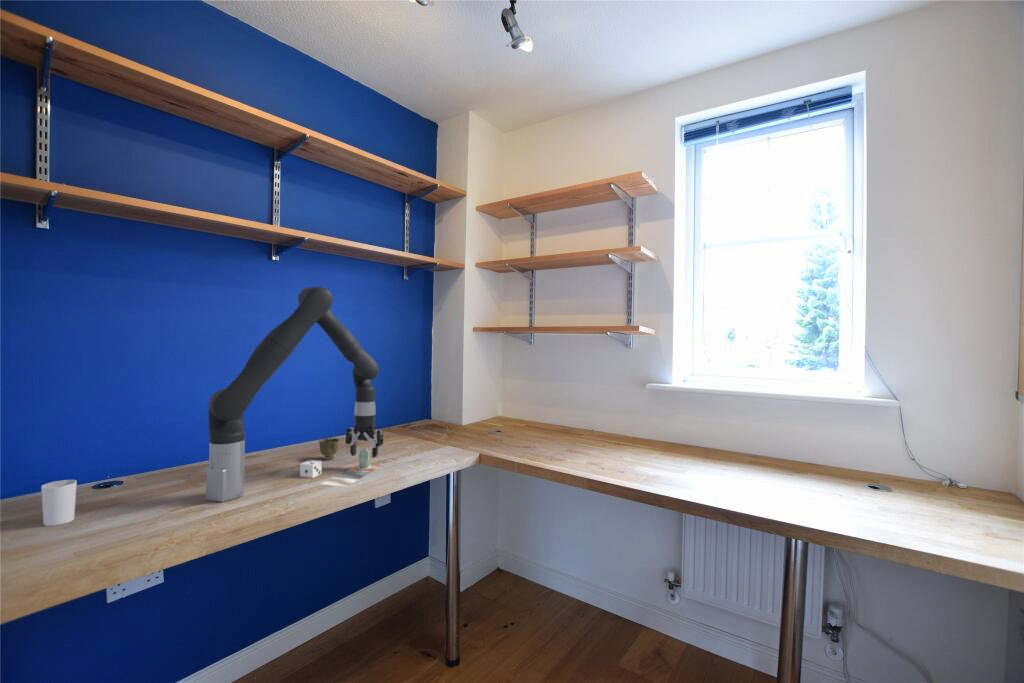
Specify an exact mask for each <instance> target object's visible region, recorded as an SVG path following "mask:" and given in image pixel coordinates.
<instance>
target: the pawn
mask: <svg viewBox="0 0 1024 683" xmlns="http://www.w3.org/2000/svg"><path fill="white" fill-rule="evenodd" d="M358 464H359V466H357V470H369V469H371V465H370V451H369V450H368V449H367V448H362V449H361V450H360V451H359V454H358Z"/></svg>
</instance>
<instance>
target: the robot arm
mask: <svg viewBox="0 0 1024 683" xmlns="http://www.w3.org/2000/svg"><path fill="white" fill-rule="evenodd" d="M333 300H334V299H333V295H332V292H331V291H330V290H329V289H327V288H325V287H323V286H309V287H305V288H303V289H302V290H301V291H300V292H299V293H298V297H297V302H298V306H297V308H296V309H295V310H294V311H293V312H292V313H291V315H290V316H289V317H288V318H286V319H285V320H284V321H282V322H281V323H279V324H278V325H277V326H276V327H275V328H273V329H271V330H270V331H269V332H268V333H267V334H266V335H265V337H264V338H263V339H262V340H261V341H260V342H259V343H258V345H256V347H255V348H254V350H253V352H252V353H251V354H250V356H249V358H248V360H247V361H246V364H245V365H244V366H243V369H242V370H241V372H240V373H239V374H238V375H237V377H236V378H235V379H234V380H233V381H232V382H231V383H230V384H229V385H228V386H227V387H225V388H221V389H218V390H217V391H215V392H214V393H213V394H212V395H211V397H210V399H209V401H208V434H209V445H208V446H209V449H208V450H209V451H208V452H209V453H208V455H209V460H208V462H209V463H208V465H209V466H208V468H206V470H205V474H206V475H205V477H206V478H205V501H211V502H221V503H224V502H227V501H230V500H236V499H238V498H240V497H242V496H244V494H245V449H246V448H245V446H246V445H245V441H246V440H245V439H246V431H245V425H244V413H245V411H247V409H248V407H249V406H250V405H251V403H252V401H253V400H254V398H255V397H256V395H257V394H258V392H259V391H260V390H261V388H262V386H264V385H265V383H267V381H268V380H269V379H270V378H271V377H273V375H274V374H275V373H276V372H277V371H278V370H279V368H280V367H282V365H283V364H284V363H285V362H286V360H287V359H288V358H289V357H290V355H291V354H292V353H293V351H294V350H295V349H296V347H297V346H299V344H300V343H301V341H302V340H303V338H304V337H305V336H306V334H307V333H308V332H309V330H310V329H311V328H312V327H313V326H314V325H315V324H316V323H317V324H318V326H319V327H320V328H321V329H322V330H323V331H324V332H325V334H326V335H327V336H328V338H329V339H330V340H331V341H332V343H333V344H334V345H335V346H336V348H337V349H338V351H339V352H340V353H341V355H342V356H343V357H344V358H345V360H346V361H347V362H350V363H351V364H353V365H354V366H353V367H352V377H353V378H352V379H353V385H354V387H355V388H354V389H355V404H354V411H353V412H354V416H353V417H354V421H353V422H354V423H353V426H354V427H352V426H350V427H347V428H346V429H345V430H346V431H345V444H346V445H349V446H350V450H349V451H350V453H349V454H350V455H351V456H352V457H353V456H356V455H357V443H358V442H359V441H365V442H368V443H369V444H370V445H371V446H372V451H371V457H372V458H374V459H375V458H377V456H378V455H379V447H381V446H383V445H384V430H383V428H381V429H376V428H375V427H376V414H377V413H376V388H375V387H374V386H373V385H372V383H371V380H374V379H376V378H377V377H378V375H379V373H380V368H379V366H378V363H377V361H375V359H374V358H373V357H372V356H371V355H370V354H369V353H367V351H366V350H364V348H363V347H362V346H361V344H360V343H359V341H358V340H357V338H356V337H355V336H354V335H353V334H352V332H351V331H350V330H349V329H348V328H347V327H346V326H344V325H343V324H342V322H341V321H339V319H338V318H337V317H336V316H335V314H333V312H332V311H331V307H332V306H333ZM353 434H354V437H353Z"/></svg>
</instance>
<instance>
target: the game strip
mask: <svg viewBox="0 0 1024 683" xmlns="http://www.w3.org/2000/svg"><path fill="white" fill-rule="evenodd" d="M357 466H359V463H357V464H356V465H355V466H353V467H351V468H349V469H347V470H345V471H343V472H341V473H339V474H337V475H335V476H333V477H332V478H330V479H327V480H326V481H323V482H321V485H325V486H334V487H345V488H347V487H349V486H350V485H352V484H353V483H355V482H357V481H359V480H361V479H362V478H364V477H365V476H367V475H369V474H370V473H373V472H374V471H376V470H377V469H380V468H381V467H383V468H385V467H384V466H383V465H381V466H380V465H374V464H373V465H371V469H369V470H357Z"/></svg>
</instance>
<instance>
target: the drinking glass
mask: <svg viewBox="0 0 1024 683" xmlns="http://www.w3.org/2000/svg"><path fill="white" fill-rule="evenodd" d="M77 481H78V480H76V479H64V480H62V479H61V480H55V481H51V482H48V483H45V484H42V485H41V489H40V490H41V504H42V520H43V521H42V522H43V525H44V526H46V527H52V526H58V525H64V524H67V523H69V522H72V521H74V520H75V510H76V496H77V484H78V482H77Z"/></svg>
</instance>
